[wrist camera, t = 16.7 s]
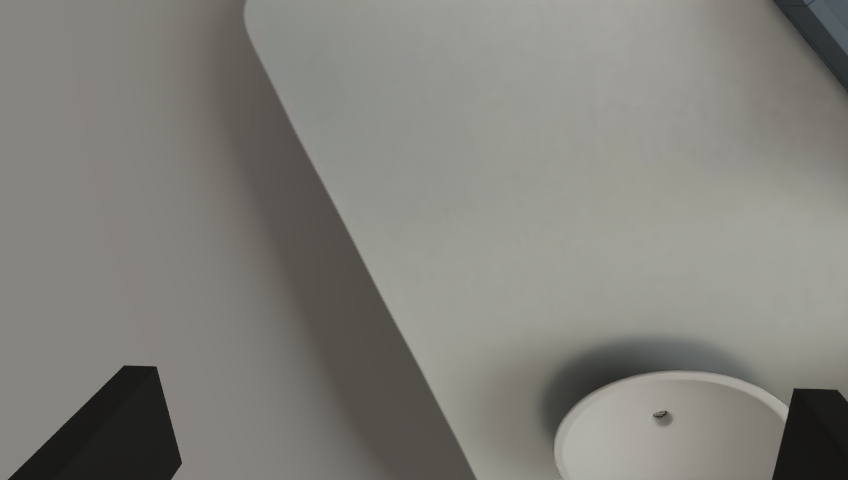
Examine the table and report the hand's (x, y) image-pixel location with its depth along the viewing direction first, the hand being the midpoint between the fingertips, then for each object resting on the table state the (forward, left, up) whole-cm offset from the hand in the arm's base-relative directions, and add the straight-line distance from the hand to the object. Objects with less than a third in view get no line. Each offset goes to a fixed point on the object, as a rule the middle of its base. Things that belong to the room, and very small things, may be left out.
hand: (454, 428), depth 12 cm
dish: (+26, -6, -31) cm, 41 cm away
